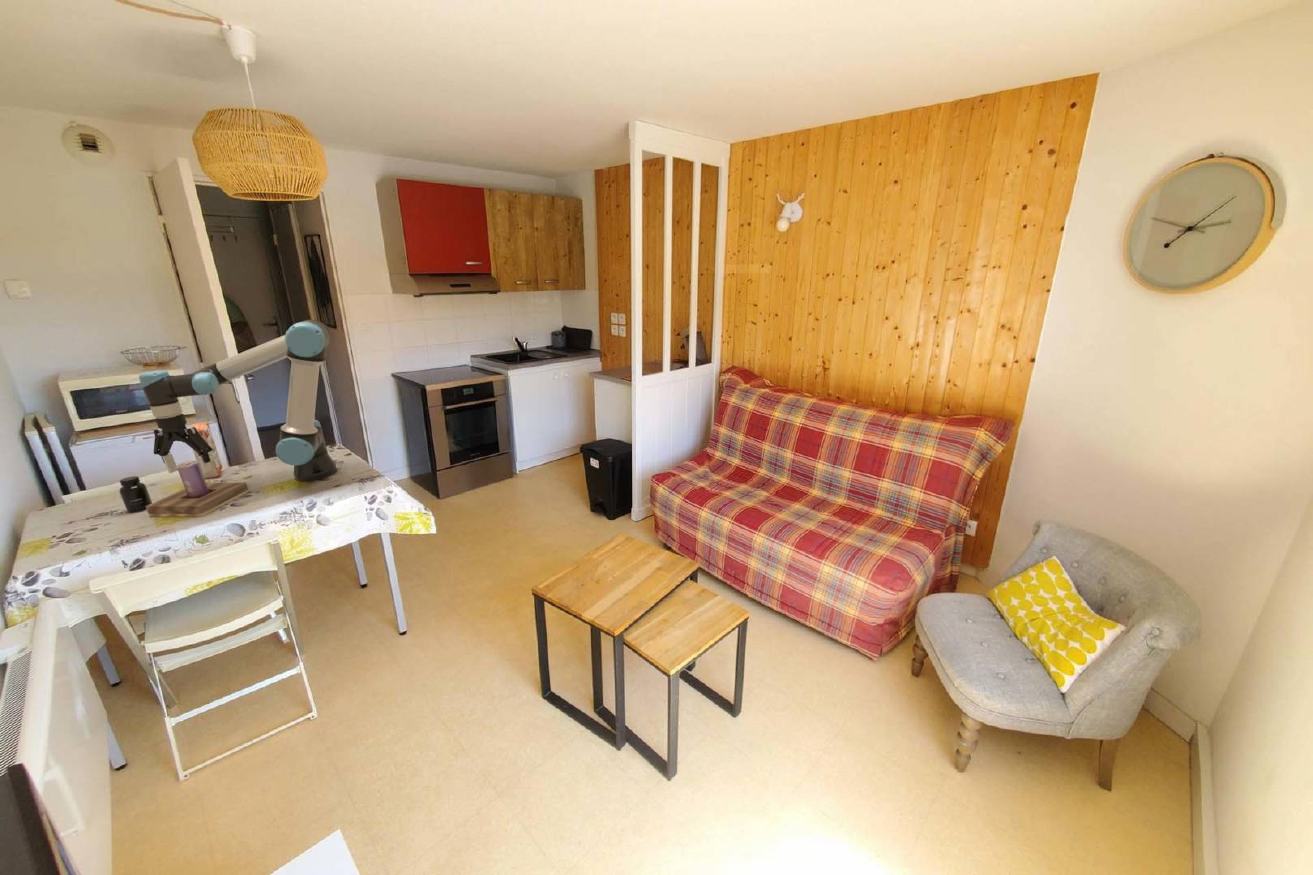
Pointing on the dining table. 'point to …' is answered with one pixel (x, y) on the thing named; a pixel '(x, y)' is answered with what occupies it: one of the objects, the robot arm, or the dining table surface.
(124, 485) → the supplement bottle
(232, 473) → the dining table surface
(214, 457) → the cracker box
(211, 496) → the socket block
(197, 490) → the beverage can
